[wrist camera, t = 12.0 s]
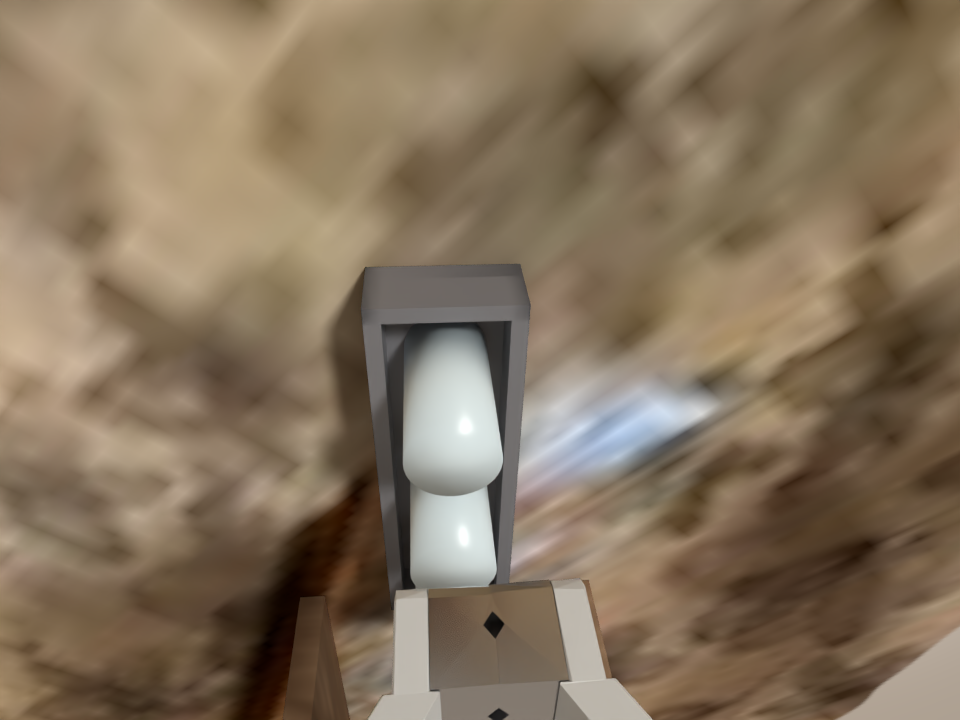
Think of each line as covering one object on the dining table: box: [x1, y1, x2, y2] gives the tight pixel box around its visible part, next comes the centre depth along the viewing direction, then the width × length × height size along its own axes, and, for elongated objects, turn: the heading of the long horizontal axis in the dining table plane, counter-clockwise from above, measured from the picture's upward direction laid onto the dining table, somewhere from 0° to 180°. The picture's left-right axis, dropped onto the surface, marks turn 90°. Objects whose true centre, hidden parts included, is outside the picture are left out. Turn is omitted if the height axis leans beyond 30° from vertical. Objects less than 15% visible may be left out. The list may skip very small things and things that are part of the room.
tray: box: [361, 264, 531, 610], centre depth 32 cm, size 6×20×8 cm, turn 179°
